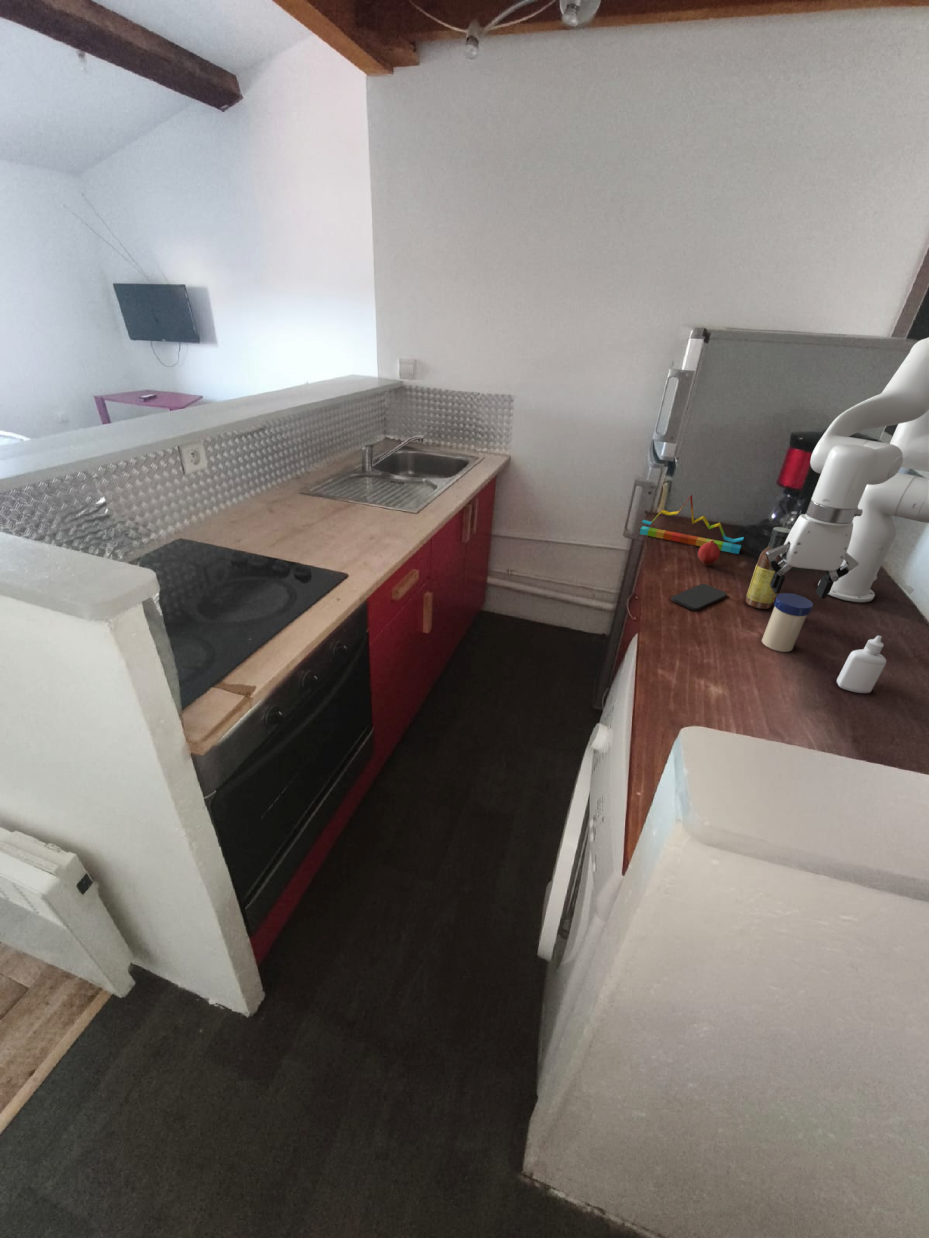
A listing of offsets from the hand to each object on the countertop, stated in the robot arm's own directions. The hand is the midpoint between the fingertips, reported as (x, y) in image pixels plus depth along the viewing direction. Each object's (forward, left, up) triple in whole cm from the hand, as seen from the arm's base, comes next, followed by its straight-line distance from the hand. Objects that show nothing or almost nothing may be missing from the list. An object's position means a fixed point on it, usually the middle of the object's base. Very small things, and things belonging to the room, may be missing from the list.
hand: (797, 592), depth 107 cm
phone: (-2, -23, -13) cm, 26 cm away
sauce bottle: (-13, -14, -13) cm, 23 cm away
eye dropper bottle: (+1, +17, -13) cm, 21 cm away
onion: (-21, -37, -13) cm, 44 cm away
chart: (-31, -52, -13) cm, 62 cm away
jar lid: (0, 0, -2) cm, 2 cm away
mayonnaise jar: (0, 0, -13) cm, 13 cm away
